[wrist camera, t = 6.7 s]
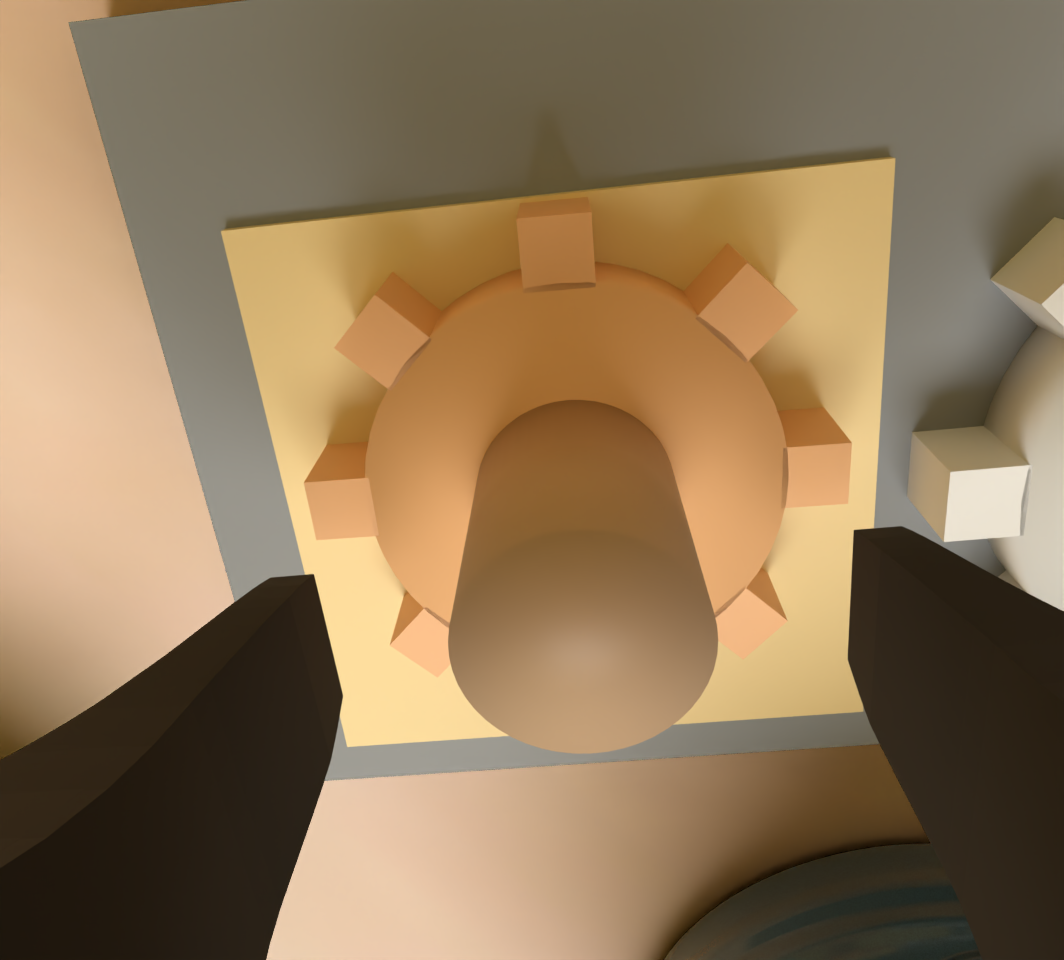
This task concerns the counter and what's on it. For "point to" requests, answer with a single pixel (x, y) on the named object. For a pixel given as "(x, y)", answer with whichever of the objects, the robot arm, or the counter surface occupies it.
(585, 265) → the wood gear
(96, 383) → the counter surface
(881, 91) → the gear board
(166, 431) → the counter surface
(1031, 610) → the robot arm
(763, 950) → the canister
